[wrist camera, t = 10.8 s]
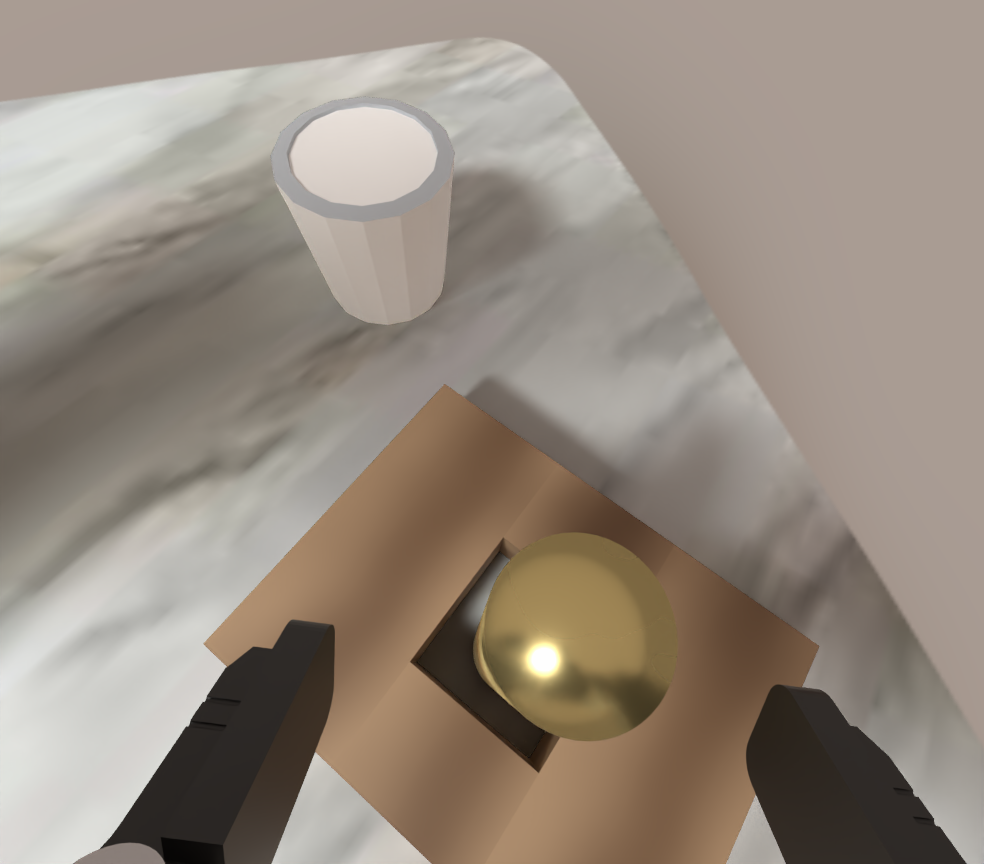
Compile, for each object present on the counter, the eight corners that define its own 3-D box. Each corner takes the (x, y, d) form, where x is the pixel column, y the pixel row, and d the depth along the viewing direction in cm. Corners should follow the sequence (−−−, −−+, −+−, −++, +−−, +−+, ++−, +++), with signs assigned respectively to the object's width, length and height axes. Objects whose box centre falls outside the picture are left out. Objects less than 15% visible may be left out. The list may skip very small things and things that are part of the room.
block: (235, 646, 18) (203, 644, 16) (446, 412, 23) (444, 384, 20) (613, 1002, 15) (639, 1064, 13) (777, 648, 19) (819, 646, 17)
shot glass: (429, 352, 24) (416, 240, 18) (293, 312, 24) (234, 189, 18) (474, 247, 27) (478, 117, 20) (352, 213, 27) (318, 76, 21)
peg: (456, 658, 19) (444, 649, 8) (504, 590, 20) (555, 497, 9) (523, 714, 18) (613, 791, 7) (569, 640, 19) (711, 609, 8)
